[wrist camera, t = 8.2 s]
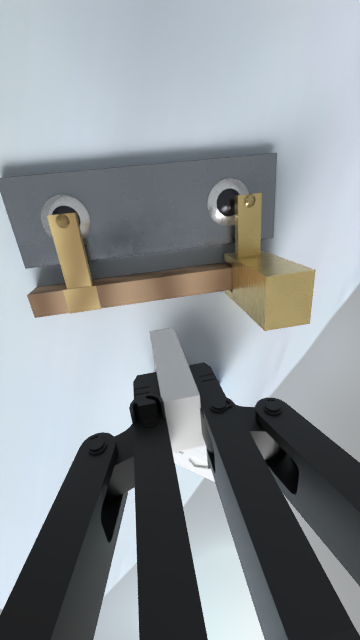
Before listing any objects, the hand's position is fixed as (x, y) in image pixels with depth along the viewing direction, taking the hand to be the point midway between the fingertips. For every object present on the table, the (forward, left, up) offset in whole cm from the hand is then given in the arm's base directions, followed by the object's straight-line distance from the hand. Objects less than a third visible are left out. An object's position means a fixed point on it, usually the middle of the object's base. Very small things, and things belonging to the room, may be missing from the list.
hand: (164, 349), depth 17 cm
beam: (+1, +4, -15) cm, 16 cm away
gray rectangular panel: (+1, +8, -15) cm, 17 cm away
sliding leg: (+11, +3, -15) cm, 19 cm away
